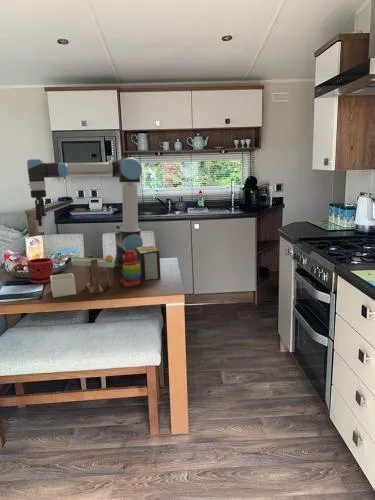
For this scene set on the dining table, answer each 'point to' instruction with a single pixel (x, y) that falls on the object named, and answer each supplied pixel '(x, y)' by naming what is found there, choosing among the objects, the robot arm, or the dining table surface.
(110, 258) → the ball
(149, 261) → the protein box
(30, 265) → the plant pot
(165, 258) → the dining table surface
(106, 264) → the lever
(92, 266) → the stand
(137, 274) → the stacking bear
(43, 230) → the robot arm
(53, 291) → the grey box
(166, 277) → the dining table surface
